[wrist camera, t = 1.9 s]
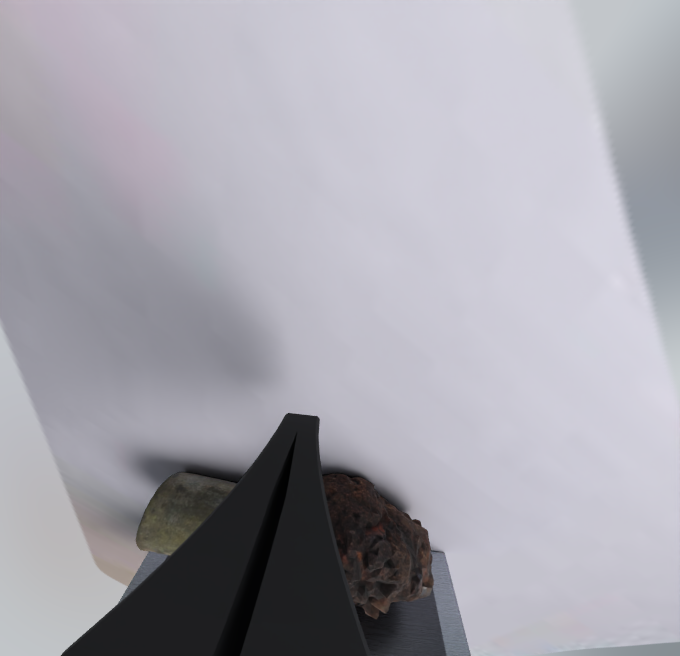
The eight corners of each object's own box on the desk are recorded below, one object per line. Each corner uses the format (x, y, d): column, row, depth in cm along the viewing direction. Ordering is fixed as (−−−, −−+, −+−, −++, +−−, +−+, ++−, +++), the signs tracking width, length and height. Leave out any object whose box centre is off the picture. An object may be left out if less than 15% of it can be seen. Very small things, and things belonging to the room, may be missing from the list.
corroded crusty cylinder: (190, 492, 19) (130, 595, 14) (177, 435, 16) (94, 541, 11) (409, 527, 19) (428, 641, 14) (438, 477, 16) (475, 600, 11)
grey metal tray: (431, 572, 22) (461, 714, 16) (177, 542, 22) (109, 671, 16) (448, 547, 20) (489, 702, 14) (164, 514, 20) (79, 652, 14)
